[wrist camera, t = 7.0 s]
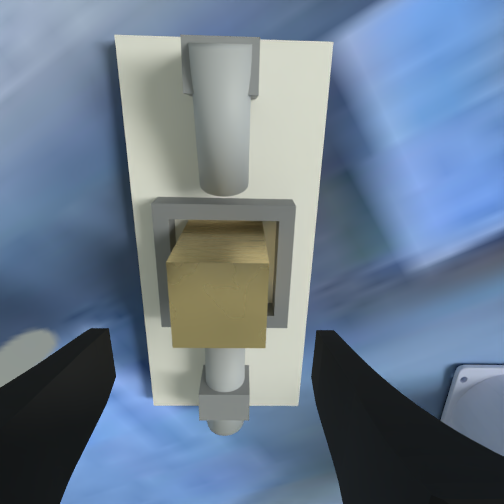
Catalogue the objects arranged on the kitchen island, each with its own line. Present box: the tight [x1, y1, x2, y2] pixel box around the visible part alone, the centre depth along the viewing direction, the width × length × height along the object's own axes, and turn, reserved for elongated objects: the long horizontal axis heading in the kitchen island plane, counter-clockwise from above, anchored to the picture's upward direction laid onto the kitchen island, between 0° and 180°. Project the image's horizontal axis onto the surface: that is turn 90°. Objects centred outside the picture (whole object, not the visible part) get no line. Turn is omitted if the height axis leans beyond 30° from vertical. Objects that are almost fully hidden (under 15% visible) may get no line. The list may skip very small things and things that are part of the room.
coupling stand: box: [115, 35, 333, 436], centre depth 18 cm, size 22×10×5 cm, turn 179°
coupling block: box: [166, 220, 269, 348], centre depth 17 cm, size 4×4×6 cm
